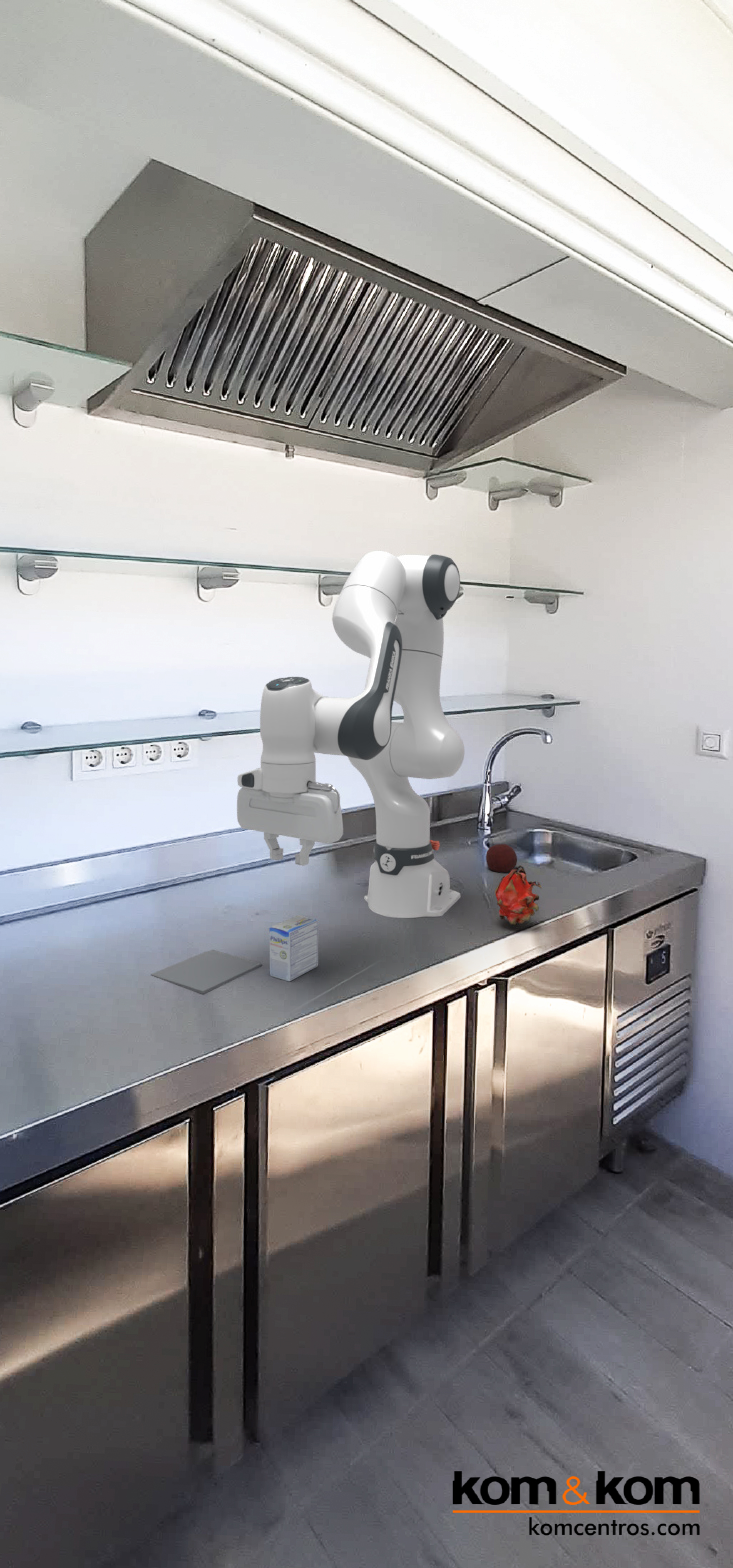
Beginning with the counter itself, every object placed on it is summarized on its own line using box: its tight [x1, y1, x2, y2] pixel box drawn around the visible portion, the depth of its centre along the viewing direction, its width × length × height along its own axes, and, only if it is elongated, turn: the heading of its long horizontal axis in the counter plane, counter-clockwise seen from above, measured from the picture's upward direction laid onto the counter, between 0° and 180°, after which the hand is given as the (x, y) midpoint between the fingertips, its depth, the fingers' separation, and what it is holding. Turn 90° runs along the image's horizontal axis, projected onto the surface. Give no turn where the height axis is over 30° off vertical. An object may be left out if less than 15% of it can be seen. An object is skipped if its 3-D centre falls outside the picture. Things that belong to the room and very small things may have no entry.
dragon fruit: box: [494, 865, 542, 926], centre depth 162 cm, size 8×8×12 cm
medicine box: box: [268, 914, 319, 982], centre depth 138 cm, size 8×4×9 cm, turn 146°
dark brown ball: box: [485, 843, 518, 873], centre depth 201 cm, size 7×8×7 cm
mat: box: [150, 949, 263, 995], centre depth 139 cm, size 14×12×1 cm
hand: (289, 861), depth 135 cm, fingers open, 4 cm apart
